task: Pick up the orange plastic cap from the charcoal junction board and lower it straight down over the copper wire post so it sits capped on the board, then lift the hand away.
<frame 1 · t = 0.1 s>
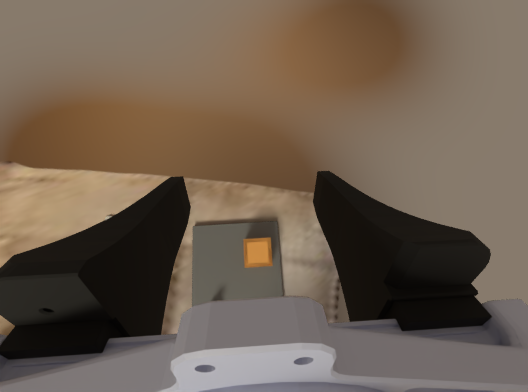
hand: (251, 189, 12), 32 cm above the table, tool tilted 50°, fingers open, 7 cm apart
junction board: (237, 278, 41), on the table
orange cap: (257, 252, 42), point 1 cm above the table, touching junction board
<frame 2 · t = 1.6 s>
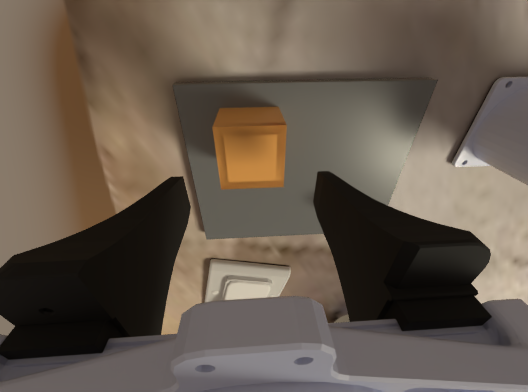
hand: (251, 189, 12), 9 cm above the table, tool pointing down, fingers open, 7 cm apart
junction board: (297, 170, 22), on the table
orange cap: (250, 135, 19), point 1 cm above the table, touching junction board
light switch: (243, 284, 34), on the table
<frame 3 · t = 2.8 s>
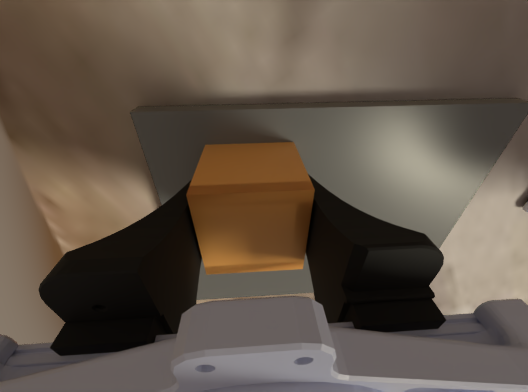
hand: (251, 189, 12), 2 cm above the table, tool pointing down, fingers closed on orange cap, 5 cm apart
junction board: (315, 218, 16), on the table
orange cap: (251, 181, 13), point 1 cm above the table, touching gripper, junction board
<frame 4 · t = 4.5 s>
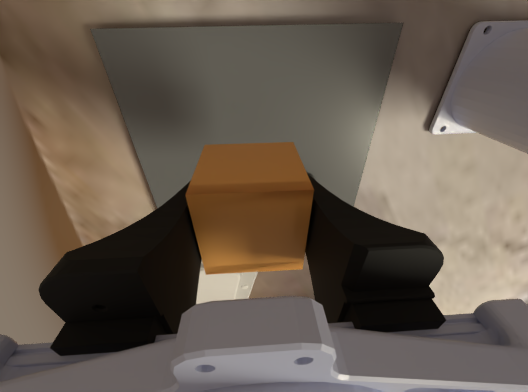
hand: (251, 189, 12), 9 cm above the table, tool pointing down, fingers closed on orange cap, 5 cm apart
junction board: (255, 139, 20), on the table
orange cap: (251, 181, 13), point 8 cm above the table, touching gripper
light switch: (214, 274, 32), on the table
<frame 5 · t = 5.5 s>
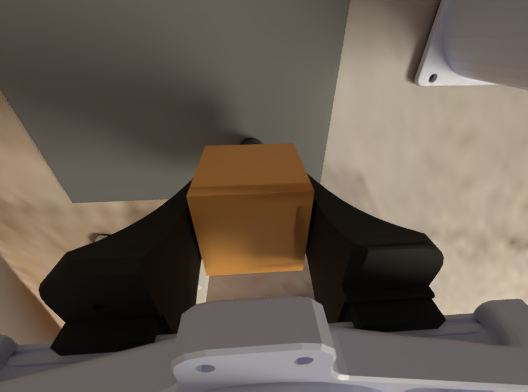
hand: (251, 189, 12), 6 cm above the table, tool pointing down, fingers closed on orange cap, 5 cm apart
wire post: (251, 145, 17), resting on junction board
junction board: (179, 89, 15), on the table
orange cap: (251, 182, 13), point 5 cm above the table, touching gripper
light switch: (162, 272, 27), on the table
when the fingers open (3 cm above the table, at t = 6.4 s): orange cap drops 2 cm, resting on junction board.
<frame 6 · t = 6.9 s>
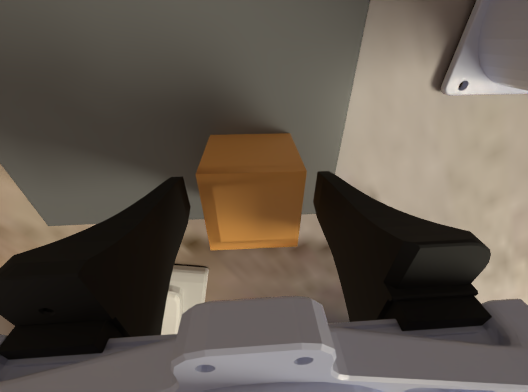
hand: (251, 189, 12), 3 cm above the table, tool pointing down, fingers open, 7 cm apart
junction board: (167, 99, 13), on the table
orange cap: (251, 169, 14), point 1 cm above the table, touching junction board
light switch: (154, 293, 24), on the table
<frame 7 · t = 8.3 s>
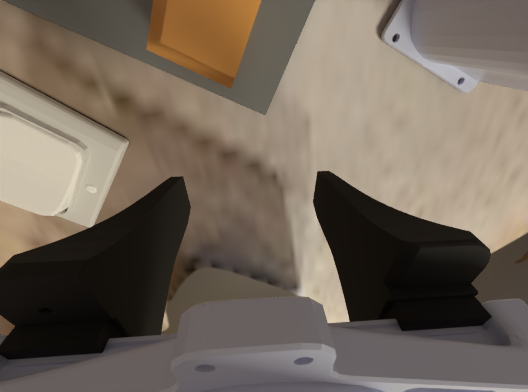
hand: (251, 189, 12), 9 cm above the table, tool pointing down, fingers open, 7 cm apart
orange cap: (213, 25, 15), point 1 cm above the table, touching junction board
light switch: (51, 157, 21), on the table
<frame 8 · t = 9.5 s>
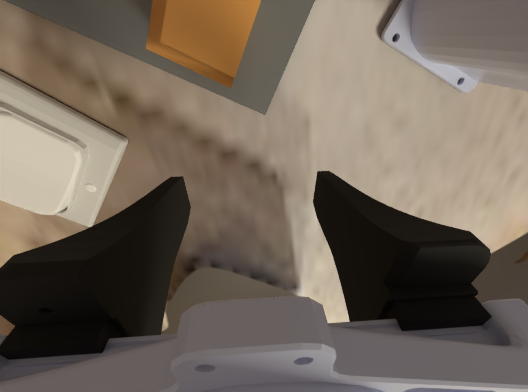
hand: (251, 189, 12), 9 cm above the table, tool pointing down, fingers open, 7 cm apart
orange cap: (213, 24, 15), point 1 cm above the table, touching junction board
light switch: (50, 157, 21), on the table
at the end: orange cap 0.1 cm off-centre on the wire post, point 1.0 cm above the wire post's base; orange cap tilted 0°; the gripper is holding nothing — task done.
